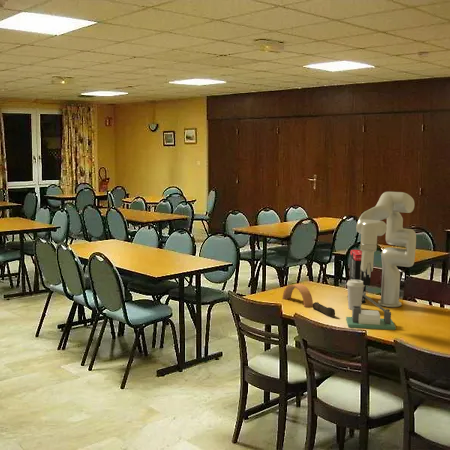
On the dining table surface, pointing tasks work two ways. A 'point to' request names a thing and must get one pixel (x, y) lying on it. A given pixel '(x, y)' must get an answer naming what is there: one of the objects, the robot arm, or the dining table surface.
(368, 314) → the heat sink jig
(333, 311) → the hand tool
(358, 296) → the coffee cup
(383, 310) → the steel strap
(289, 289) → the arch
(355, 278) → the graphics card box
